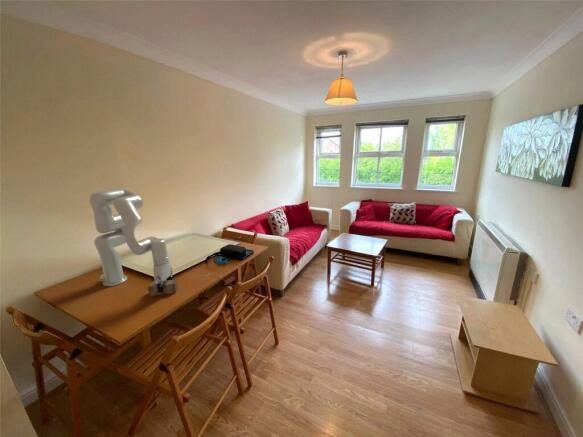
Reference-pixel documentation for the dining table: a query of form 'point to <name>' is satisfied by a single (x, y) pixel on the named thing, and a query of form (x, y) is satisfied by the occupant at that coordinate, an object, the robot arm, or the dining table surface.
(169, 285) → the walnut screen
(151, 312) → the dining table surface
